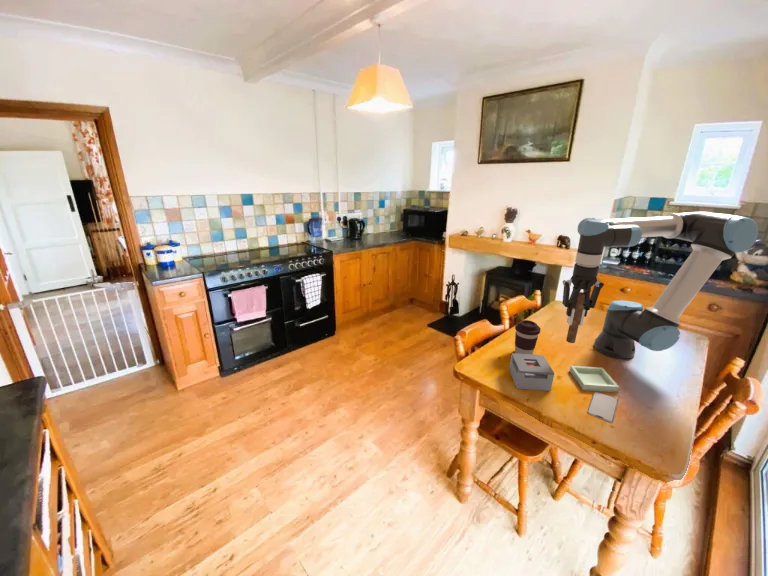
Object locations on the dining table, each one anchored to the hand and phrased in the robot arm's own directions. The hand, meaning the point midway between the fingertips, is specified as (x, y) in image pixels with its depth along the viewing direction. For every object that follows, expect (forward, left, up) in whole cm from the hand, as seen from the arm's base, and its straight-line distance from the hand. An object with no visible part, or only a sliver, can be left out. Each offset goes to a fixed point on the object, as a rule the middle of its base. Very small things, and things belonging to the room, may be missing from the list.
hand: (574, 323), depth 122 cm
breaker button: (+15, +7, -19) cm, 26 cm away
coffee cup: (+12, -12, -22) cm, 28 cm away
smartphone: (-6, +19, -22) cm, 30 cm away
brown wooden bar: (0, 0, -8) cm, 8 cm away
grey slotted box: (+15, +7, -22) cm, 27 cm away
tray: (-9, +5, -22) cm, 24 cm away
